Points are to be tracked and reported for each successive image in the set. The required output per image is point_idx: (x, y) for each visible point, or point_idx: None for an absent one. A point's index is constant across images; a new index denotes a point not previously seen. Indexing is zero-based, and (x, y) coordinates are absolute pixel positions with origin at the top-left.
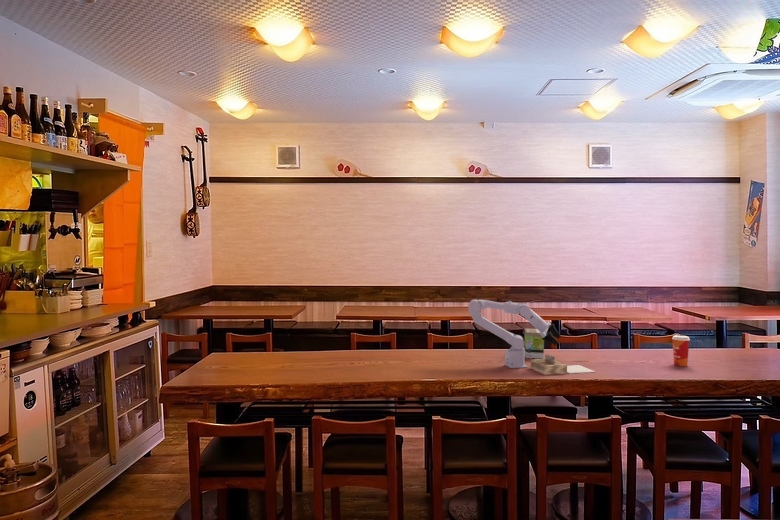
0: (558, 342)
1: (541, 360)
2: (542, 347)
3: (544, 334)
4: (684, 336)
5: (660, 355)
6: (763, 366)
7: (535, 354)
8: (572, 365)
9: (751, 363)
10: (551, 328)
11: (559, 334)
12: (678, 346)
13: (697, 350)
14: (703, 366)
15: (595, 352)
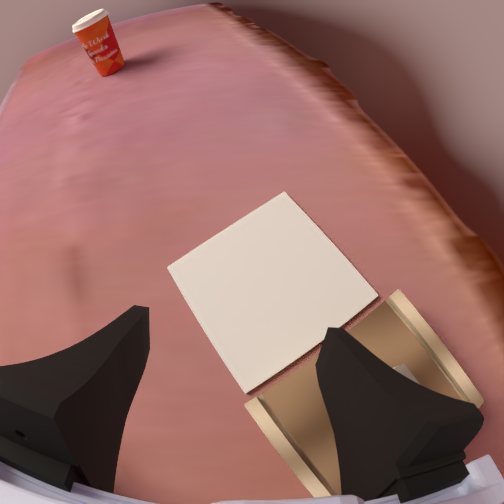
0: (331, 327)
1: (325, 467)
2: None
3: (499, 475)
4: (88, 15)
5: (28, 116)
6: (118, 25)
7: None
8: (186, 298)
9: None
10: (89, 434)
11: (134, 315)
12: (106, 31)
13: (11, 96)
14: (122, 50)
15: None
